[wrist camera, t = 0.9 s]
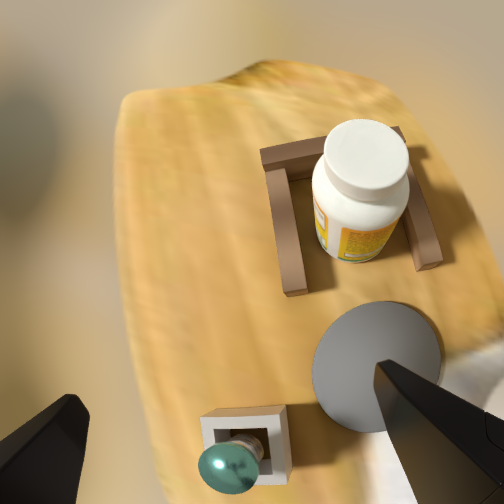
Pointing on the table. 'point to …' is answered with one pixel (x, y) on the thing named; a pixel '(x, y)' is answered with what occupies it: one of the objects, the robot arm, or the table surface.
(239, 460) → the plunger
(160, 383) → the table surface
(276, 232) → the housing rails
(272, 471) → the plunger block
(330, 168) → the supplement bottle
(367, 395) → the rubber pad
